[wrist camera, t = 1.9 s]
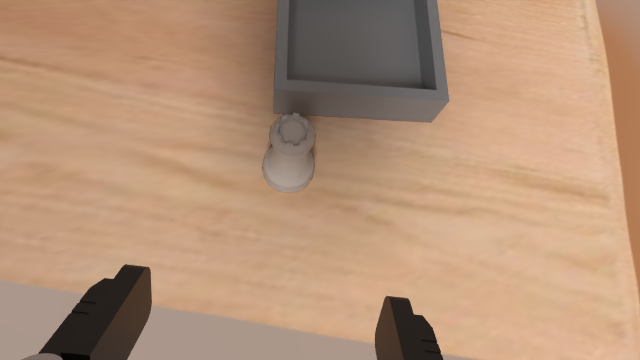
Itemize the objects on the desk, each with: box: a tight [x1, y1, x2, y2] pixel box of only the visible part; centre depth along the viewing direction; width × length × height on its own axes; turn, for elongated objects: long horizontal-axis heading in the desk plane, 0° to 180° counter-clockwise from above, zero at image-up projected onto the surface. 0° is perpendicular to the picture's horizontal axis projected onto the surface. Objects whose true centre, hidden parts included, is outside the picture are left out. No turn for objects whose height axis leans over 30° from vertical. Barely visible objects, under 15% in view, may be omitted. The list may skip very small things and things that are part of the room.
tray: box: [274, 0, 449, 123], centre depth 37 cm, size 15×15×4 cm
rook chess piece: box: [262, 113, 316, 193], centre depth 30 cm, size 4×4×8 cm
